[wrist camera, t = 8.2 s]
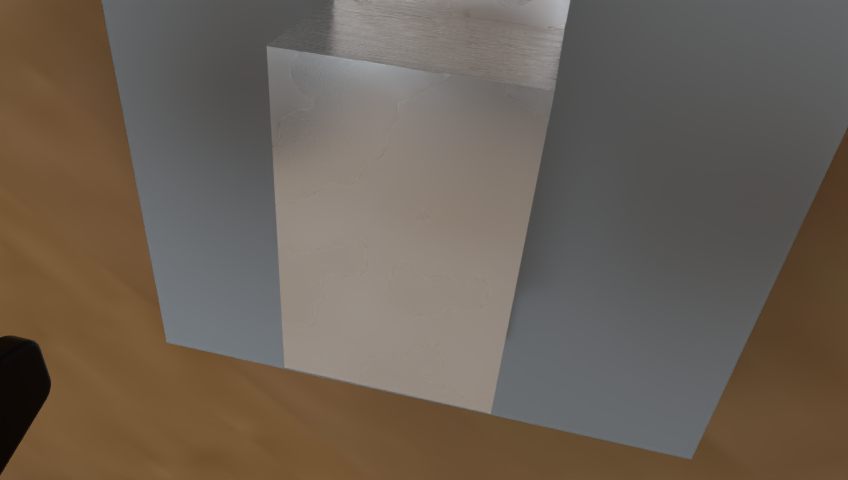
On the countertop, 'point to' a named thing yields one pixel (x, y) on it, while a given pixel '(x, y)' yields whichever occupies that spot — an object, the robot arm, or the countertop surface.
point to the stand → (553, 198)
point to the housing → (408, 185)
